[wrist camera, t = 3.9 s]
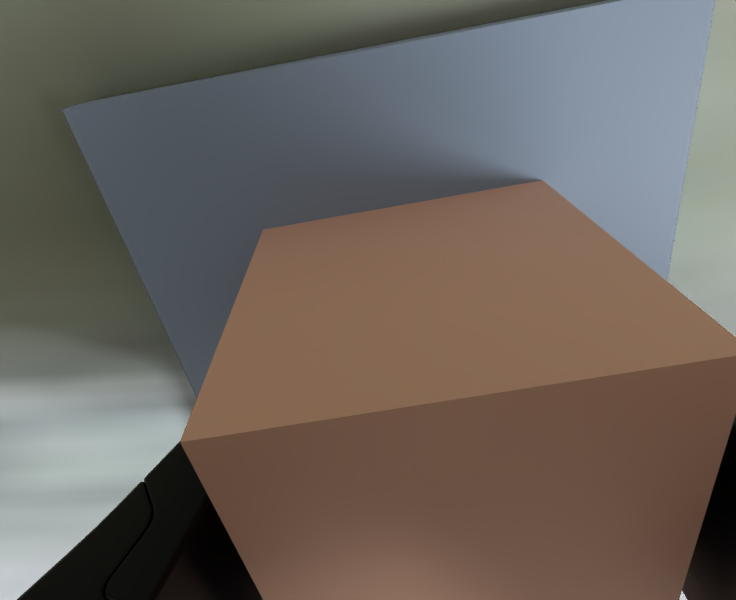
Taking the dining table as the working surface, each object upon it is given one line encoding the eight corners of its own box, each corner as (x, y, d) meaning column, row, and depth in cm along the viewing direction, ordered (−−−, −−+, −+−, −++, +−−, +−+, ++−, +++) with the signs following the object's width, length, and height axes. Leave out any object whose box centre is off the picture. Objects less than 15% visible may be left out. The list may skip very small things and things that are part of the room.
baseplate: (684, -15, 8) (720, -19, 7) (579, 726, 23) (586, 749, 22) (85, 101, 8) (60, 109, 7) (372, 751, 23) (373, 774, 23)
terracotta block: (543, 179, 8) (755, 353, 4) (538, 394, 11) (666, 641, 7) (262, 229, 9) (179, 442, 4) (323, 427, 11) (308, 686, 7)
